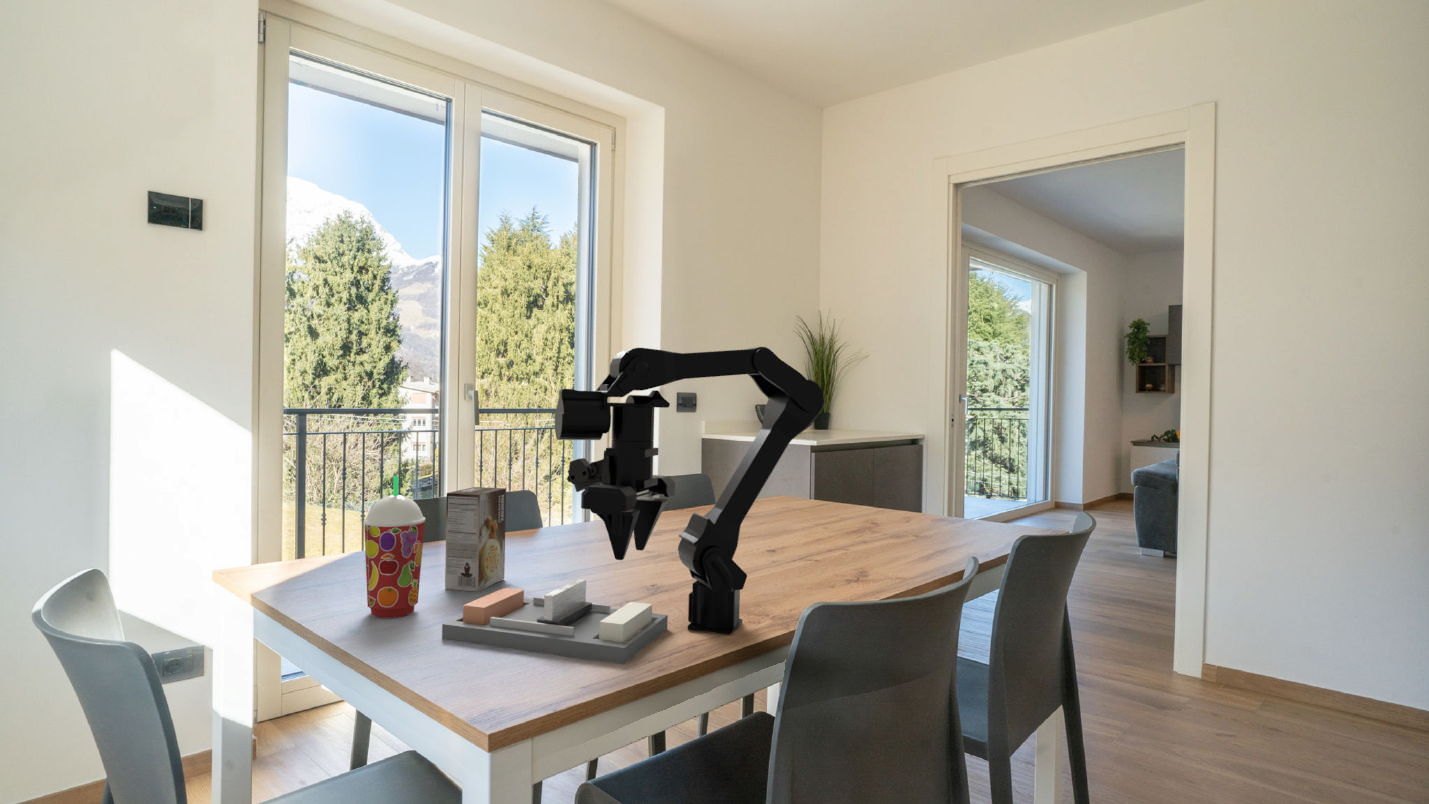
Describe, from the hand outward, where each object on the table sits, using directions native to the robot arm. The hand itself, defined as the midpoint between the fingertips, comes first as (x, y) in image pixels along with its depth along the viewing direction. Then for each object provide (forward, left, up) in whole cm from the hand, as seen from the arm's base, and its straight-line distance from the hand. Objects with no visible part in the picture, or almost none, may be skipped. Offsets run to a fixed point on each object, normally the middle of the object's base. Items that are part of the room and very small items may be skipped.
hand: (629, 554), depth 104 cm
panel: (+9, +3, -11) cm, 14 cm away
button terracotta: (+19, +3, -10) cm, 21 cm away
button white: (-1, +3, -9) cm, 10 cm away
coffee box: (+35, -16, -11) cm, 40 cm away
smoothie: (+36, +3, -11) cm, 38 cm away
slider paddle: (+8, +3, -9) cm, 12 cm away
